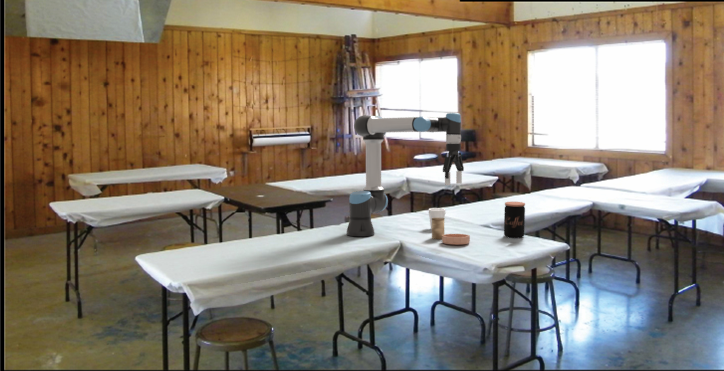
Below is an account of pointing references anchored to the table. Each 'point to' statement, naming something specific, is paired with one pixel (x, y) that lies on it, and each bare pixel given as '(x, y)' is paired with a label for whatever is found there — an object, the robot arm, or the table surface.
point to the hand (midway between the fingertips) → (453, 184)
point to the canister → (437, 228)
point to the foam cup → (436, 214)
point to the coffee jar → (514, 219)
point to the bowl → (455, 239)
